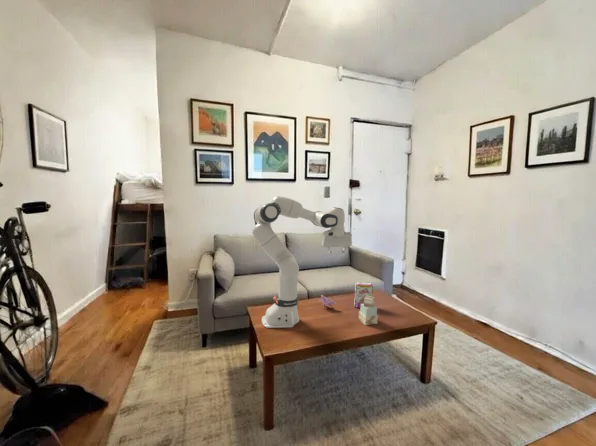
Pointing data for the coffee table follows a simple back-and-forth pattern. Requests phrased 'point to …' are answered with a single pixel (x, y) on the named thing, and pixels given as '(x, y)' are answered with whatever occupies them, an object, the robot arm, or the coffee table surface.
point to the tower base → (368, 319)
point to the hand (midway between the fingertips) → (336, 253)
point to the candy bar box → (362, 293)
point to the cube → (369, 301)
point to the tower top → (368, 311)
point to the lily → (327, 301)
